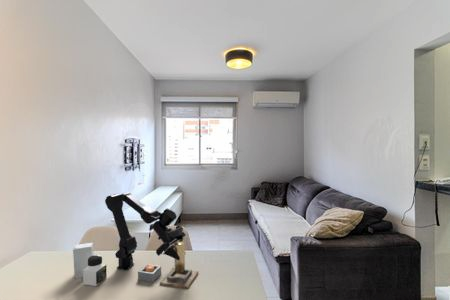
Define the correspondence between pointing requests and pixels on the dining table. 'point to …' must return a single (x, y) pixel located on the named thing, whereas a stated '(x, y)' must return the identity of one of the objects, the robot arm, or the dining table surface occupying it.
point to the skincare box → (81, 258)
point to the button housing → (149, 273)
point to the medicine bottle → (94, 271)
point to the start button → (150, 268)
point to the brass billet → (180, 250)
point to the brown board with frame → (179, 278)
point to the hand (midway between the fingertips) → (182, 257)
